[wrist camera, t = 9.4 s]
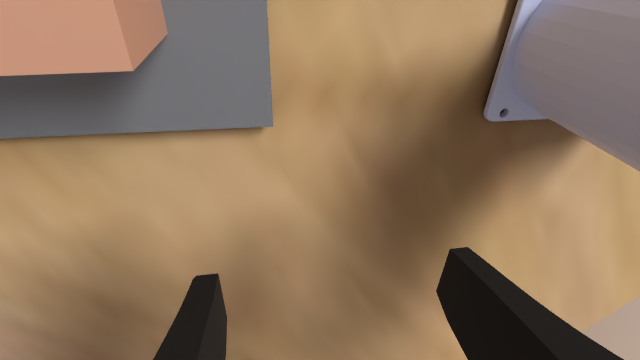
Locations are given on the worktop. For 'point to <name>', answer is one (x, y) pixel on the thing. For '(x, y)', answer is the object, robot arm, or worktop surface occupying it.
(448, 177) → the worktop surface
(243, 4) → the mat
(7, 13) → the cube
